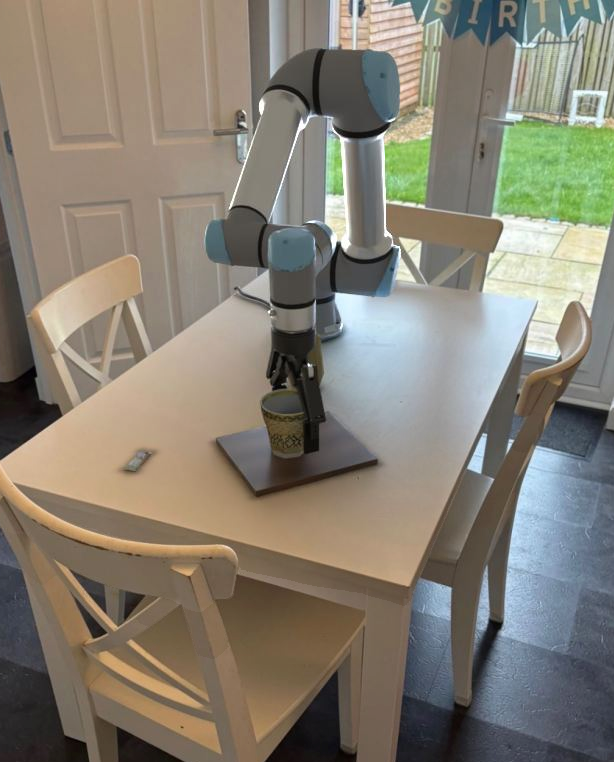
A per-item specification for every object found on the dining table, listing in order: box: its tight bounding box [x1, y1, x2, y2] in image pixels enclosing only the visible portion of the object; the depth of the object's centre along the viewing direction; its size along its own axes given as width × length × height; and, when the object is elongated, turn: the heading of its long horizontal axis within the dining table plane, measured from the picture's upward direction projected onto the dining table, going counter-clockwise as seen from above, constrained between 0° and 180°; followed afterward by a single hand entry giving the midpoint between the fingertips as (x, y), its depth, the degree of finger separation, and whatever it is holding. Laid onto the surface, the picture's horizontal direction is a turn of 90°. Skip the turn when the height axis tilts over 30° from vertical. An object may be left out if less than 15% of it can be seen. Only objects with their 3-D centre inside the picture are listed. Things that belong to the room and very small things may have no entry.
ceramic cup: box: [259, 388, 306, 458], centre depth 143 cm, size 13×10×10 cm
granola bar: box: [123, 450, 153, 472], centre depth 143 cm, size 7×2×1 cm, turn 163°
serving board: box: [215, 410, 379, 498], centre depth 146 cm, size 20×24×1 cm
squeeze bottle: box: [287, 325, 325, 389], centre depth 163 cm, size 8×8×18 cm
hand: (295, 434), depth 144 cm, fingers open, 13 cm apart
